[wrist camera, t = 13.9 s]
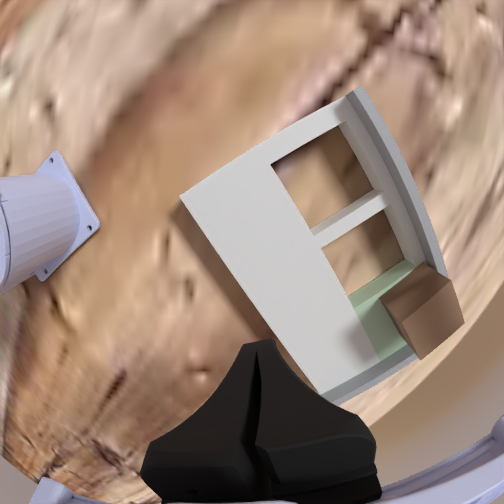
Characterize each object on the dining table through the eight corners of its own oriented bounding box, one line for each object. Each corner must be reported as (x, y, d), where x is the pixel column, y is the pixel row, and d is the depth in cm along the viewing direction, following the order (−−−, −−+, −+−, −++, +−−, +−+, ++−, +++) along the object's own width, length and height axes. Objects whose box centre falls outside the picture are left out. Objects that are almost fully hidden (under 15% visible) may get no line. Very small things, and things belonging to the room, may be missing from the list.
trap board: (319, 385, 25) (327, 410, 22) (185, 193, 20) (173, 198, 17) (440, 309, 23) (459, 326, 20) (345, 97, 18) (362, 85, 15)
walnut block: (399, 334, 21) (420, 360, 17) (378, 297, 20) (401, 322, 16) (438, 301, 21) (464, 322, 17) (422, 262, 20) (450, 280, 16)
